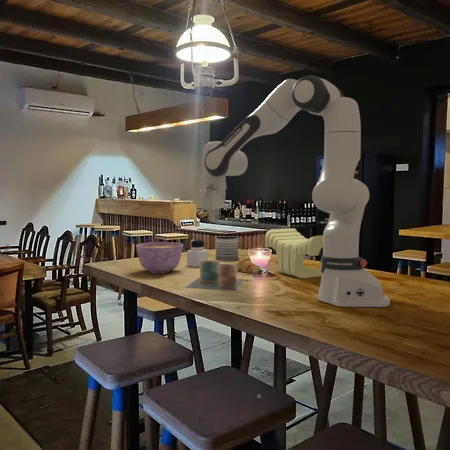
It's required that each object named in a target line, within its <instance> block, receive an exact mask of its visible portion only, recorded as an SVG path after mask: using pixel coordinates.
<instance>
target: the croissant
mask: <svg viewBox="0 0 450 450" xmlns="http://www.w3.org/2000/svg"><path fill="white" fill-rule="evenodd" d="M249 256H250V255H245V256H242V257H240V258H239V259H238V261H237V262H236V264H237V271H239V272H241V273H245V274H253V275H257V273H258V274H259V273H260V272H261V271H260V268H259V266H257V265H255V264H253V263H252V262H251V260H250V257H249ZM259 271H260V272H259Z"/></svg>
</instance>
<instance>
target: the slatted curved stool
mask: <svg viewBox="0 0 450 450" xmlns="http://www.w3.org/2000/svg"><path fill="white" fill-rule="evenodd" d="M264 248H272V249H273V250H274V251H275V253H276V254H275V255H276V260H277V269H278V272H279V273H280V274H284V275H288V276H291V277H292V276H293V277H295V278H300V279H306V278H307V279H309V278H317V277H322V272H321V269H319V268H315V267H311V266H303V265H304V264H303V263H304V260H305V258H306V256H307V255H308V256H309V257H313V256H319V255H320V251H321V249H323V234H321V235H314V236H312V237H310V238H306V237H305V236H304V235H302V234H301V232H298V230H297V229H296V228H295V227H294V228H273V229H269V230H267V232H266V233H265V236H264Z"/></svg>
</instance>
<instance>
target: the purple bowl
mask: <svg viewBox="0 0 450 450" xmlns="http://www.w3.org/2000/svg"><path fill="white" fill-rule="evenodd" d="M135 248H136V252H137V257H138V260H139V263H140V265H141V267H142V268H143V269H144V270H146V271H148V272H150V273H151V272H152V274H157V273H161V274H167V273H170V272H171V271H173V270H175V269H176V268H177V267H178V266H179V265H180V261H181V257H182V252H183V248H184V244H183V243H180V242H171V241H170V242H169V241H168V242H167V241H166V242H165V241H163V242H161V241H160V242H157V241H156V242H145V243H138V244H136V245H135Z"/></svg>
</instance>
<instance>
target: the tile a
mask: <svg viewBox="0 0 450 450" xmlns="http://www.w3.org/2000/svg"><path fill="white" fill-rule="evenodd" d="M219 264H220V260H217V259H214V260H210V259H208V260H200V267H199V278H200V282H217V283H218V282H219Z"/></svg>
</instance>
